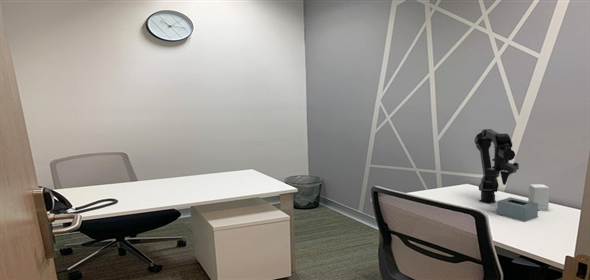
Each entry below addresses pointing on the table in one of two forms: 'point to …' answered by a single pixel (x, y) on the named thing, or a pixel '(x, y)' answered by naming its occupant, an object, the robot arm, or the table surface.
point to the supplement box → (539, 195)
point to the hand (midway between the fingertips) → (499, 185)
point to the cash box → (517, 209)
